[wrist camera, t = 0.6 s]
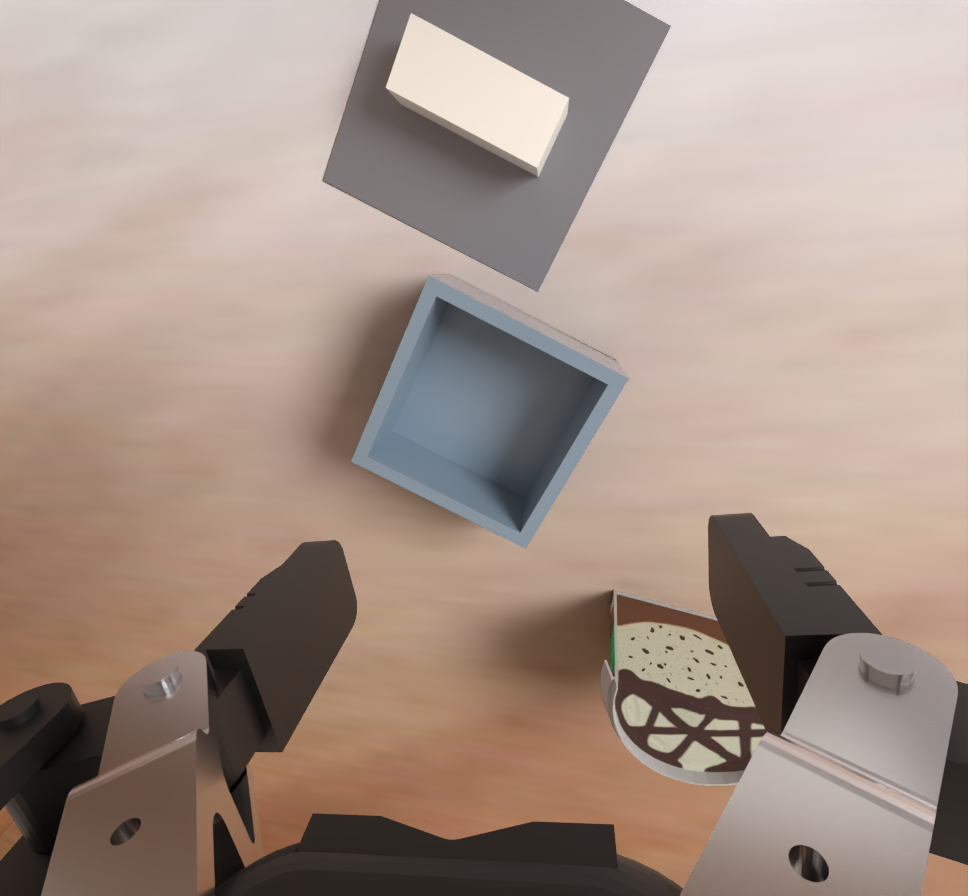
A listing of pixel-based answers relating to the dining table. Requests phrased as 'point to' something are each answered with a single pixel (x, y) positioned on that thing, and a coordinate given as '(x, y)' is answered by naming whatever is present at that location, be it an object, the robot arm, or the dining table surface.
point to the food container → (678, 693)
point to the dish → (486, 409)
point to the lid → (491, 118)
